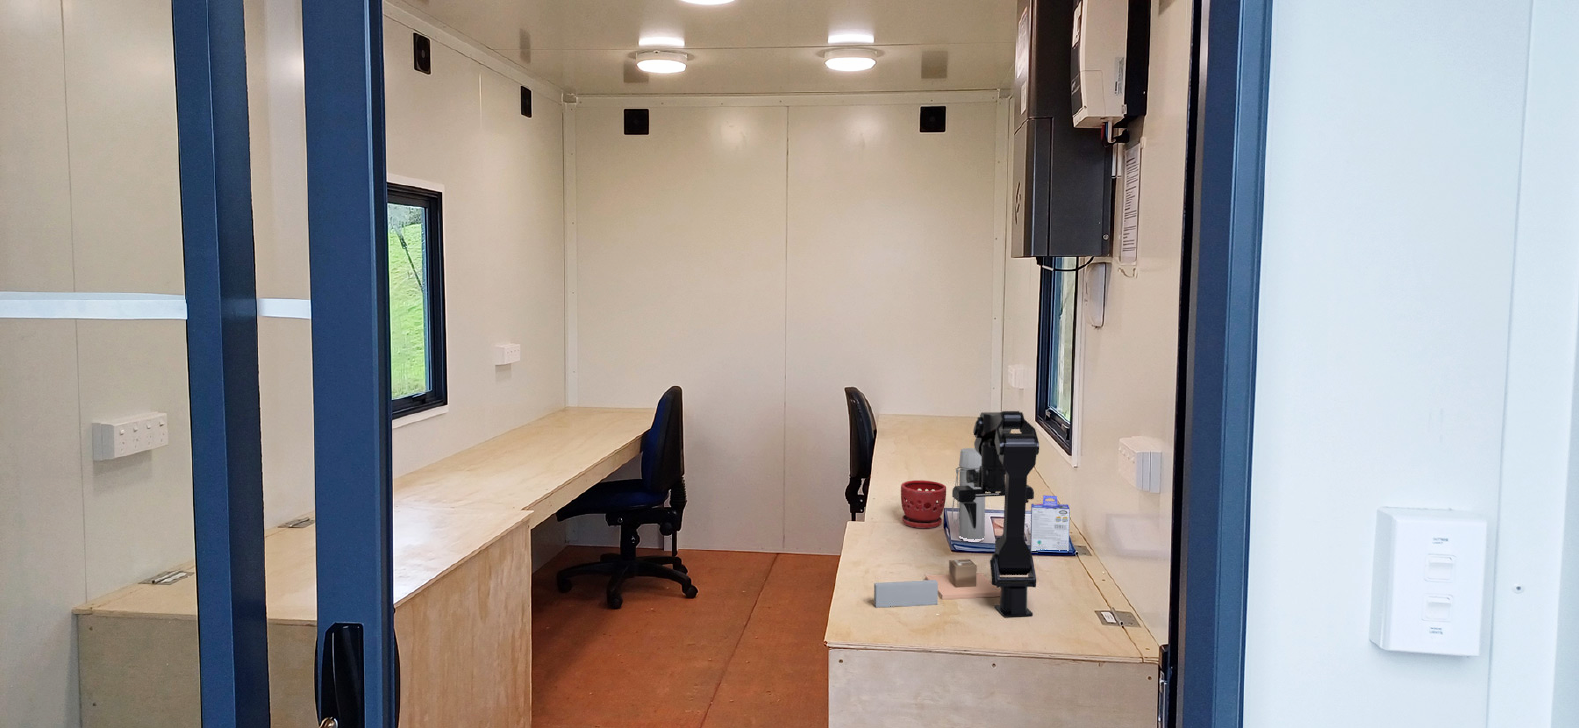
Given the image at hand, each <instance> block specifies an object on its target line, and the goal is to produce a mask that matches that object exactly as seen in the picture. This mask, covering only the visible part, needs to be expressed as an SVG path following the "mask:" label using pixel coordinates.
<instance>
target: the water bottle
mask: <svg viewBox="0 0 1579 728" xmlns="http://www.w3.org/2000/svg"><path fill="white" fill-rule="evenodd" d="M959 452H960V453H959V463H958V467H956V468H955V472H956V474H955V475H956V476H955V477H956V478H955V484H954V487H955V486H967V485H968V486H970V487H971V488H973V489H981V487H974V483H967V480H966V471H967V470H971V469H975V470H976V472H979V468H980V466H981V457H982V456H981V455H980V454H979V453H978V452H977V451H976V449H975V447H974V448H973V447H972V448H970V447H967V448H966V447H965V448H962V449H960V451H959ZM955 500H956V499H955V498H953V499H952V507H951V519H952V523H953V524H956V523H958V537H959V536H961V537H963V538H967V539H974V540H975V539H982V538H984V536H986V535H985V533H986V532H985V530H986V529H985V527H986V525H985V524H986V521H985V520H986V497H976V499H975V500H974V502H975V503H977V510H976V529H974V528H973V527H972V524H971V521H970V518H969V515H968V512H967V510H966V507H965V505H963V504H962V503H961V502H958V501H957V500H956V502H957V504H956V505H957V507H956V508H957V519H956V521H955V520H954V507H955ZM984 539H985V538H984Z"/></svg>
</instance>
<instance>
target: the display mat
mask: <svg viewBox="0 0 1579 728" xmlns="http://www.w3.org/2000/svg"><path fill="white" fill-rule="evenodd" d="M924 578H925V579H924V580H936V581H937V582H938V597H940V598H941V600H955V599H957V600H958V599H973V598H974V599H975V598H992V597H993V598H994V597H1000V588H999V587H996V586H995V585H992V584H991V580H990V579H989V578H988V577H986V575H984V574H983V573H982V572H977V576H976V587H958V588H955V587H954V585H953V584H952V583H951V582H950V581H949V573H948V574H932V575H924Z"/></svg>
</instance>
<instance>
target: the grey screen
mask: <svg viewBox="0 0 1579 728" xmlns="http://www.w3.org/2000/svg"><path fill="white" fill-rule="evenodd" d="M938 597H939V595H938V582H937V581H936V580H925V579H924V580H910V581H909V580H908V581H905V580H904V581H887V582H884V581H883V582H874V583H873V598H874V599H873V605H874V604H875V605H874V607H875V606H876V607H875V609H877V608H878V607H879V609H881V608H880V607H884V608H893V607H892V606H902V607H917V605H920V606H932V605H933V606H936V605H938ZM935 604H936V605H935ZM890 606H891V607H890Z"/></svg>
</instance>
